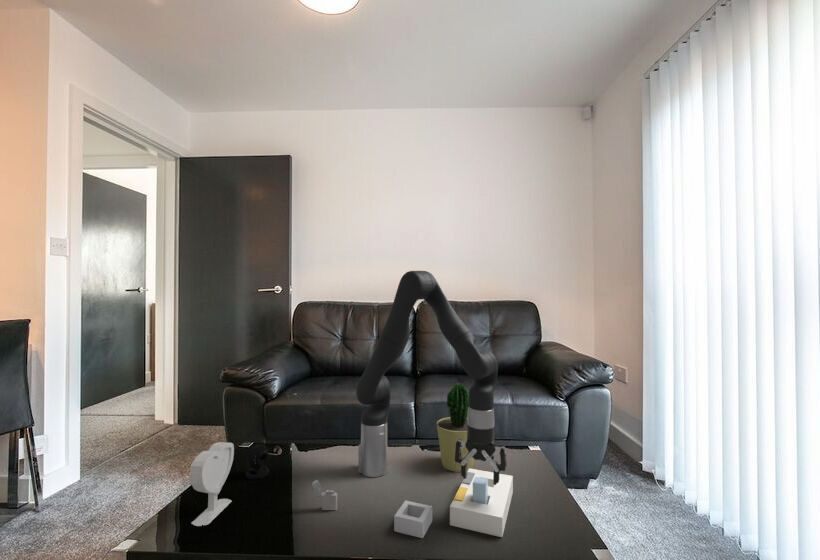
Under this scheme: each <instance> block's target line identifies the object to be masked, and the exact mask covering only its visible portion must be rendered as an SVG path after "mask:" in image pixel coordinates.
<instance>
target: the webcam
mask: <svg viewBox="0 0 820 560" xmlns="http://www.w3.org/2000/svg"><path fill="white" fill-rule="evenodd" d="M268 459H269V449H268V448H267V446H266V445H265V444H256V445H255V446H253V447H252V448H251V449H250V450H249V452H248V454H247V458H246V463H247V466H248V467H249V468H250V469H248V470H247V471H246V472H245V477H246V478H247V479H249V480H261V479H263V478H266V477H267V476H268V475H269V474H270V469H269V468H268V467H267V466H264V465H265V464H266V463H267V462H268ZM252 473H256V474H252ZM265 476H266V477H265Z"/></svg>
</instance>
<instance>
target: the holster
mask: <svg viewBox="0 0 820 560" xmlns="http://www.w3.org/2000/svg"><path fill="white" fill-rule="evenodd" d="M393 517H394V518H393V522H394V524H393V527H394V528H393V531H394V532H397V533H399V534H403V535H409V536H412V537H415V538H420V539H424V537H425V535H426V534H427V532H428V530H429V529H430V528H429V527H430V525H432V522H433V506H432V505H429V504H423V503H418V502H414V501H410V500H404V501H403V503H402V504H401V506H400V508H398V510H397V511H396V513H395V514H394V516H393Z"/></svg>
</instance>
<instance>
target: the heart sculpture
mask: <svg viewBox="0 0 820 560" xmlns="http://www.w3.org/2000/svg"><path fill="white" fill-rule="evenodd" d="M234 455H235V446H234V443H232V442H221V441H220V442H219V441H218V442H214V443H213V444H211V446H210V447H209V449H208V450H203V451H201V452H200V453H199V454H198V455H197V456H196V457H195V458H194V459H193V461H192V462H191V465H190V470H189V481H190V484H191V487H192V488H193V490H195V491H197V492H200V493H204V494H208V498H207V501H208V502H207V508H206V509H205V510H204V511H202V513H200V514H199V515H198V516H197V517H196V518H195V519H194V520H193V521H191V525H193V526H196V527H202V525H203V526H207V525H209V524H211V523H212V521H213V520H214V519H215V518H217V517H218V516H219V515H220V513H221V512H223V511H224V509H226V508H227V507H228V506H229V504H231V503H232V502H233V501H232V500H231V499H229V498H219V499H218V495H219V494H220V492H221V490H222V489H223V486H224V484H225V482H226V480H227V479H228V476H229V474H230V472H231V468H232V465H233V461H234Z"/></svg>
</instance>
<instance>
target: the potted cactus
mask: <svg viewBox="0 0 820 560" xmlns="http://www.w3.org/2000/svg"><path fill="white" fill-rule="evenodd" d="M469 389H470V388H469ZM469 389H467V388H466V386H465V385H464V384H463V383H454V384H452V387H451V388H450V389H449V391H448V392H447V394H446V396H445V399H446V402H444V403H446V407H448V411H447V412H448V413H447V414H449V416H448V417H443V418H441V419H439V420H437V421H436V430H437V437H438V441H439V442H438V444H439V451H440V457H441V458H440V459H441V464H442V467H443V468H444V469H445V470H448V471H451V472H455V473H461V464H460V463H458V462H455V450H456V442H457V441H458V439H461V440H462V441H466V442H467V416H468V407H469ZM468 452H469V451H468V450H467V448H466V446H464V447H463V449H461V457H462V458H464V457H465V456H466V455H467V454H468ZM474 462H475V459H474V458H473V457H472V458H471V459H470V460H469V461H468V462H467V472H468V470H469V468H470V469H474V468H473V467H474Z"/></svg>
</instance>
